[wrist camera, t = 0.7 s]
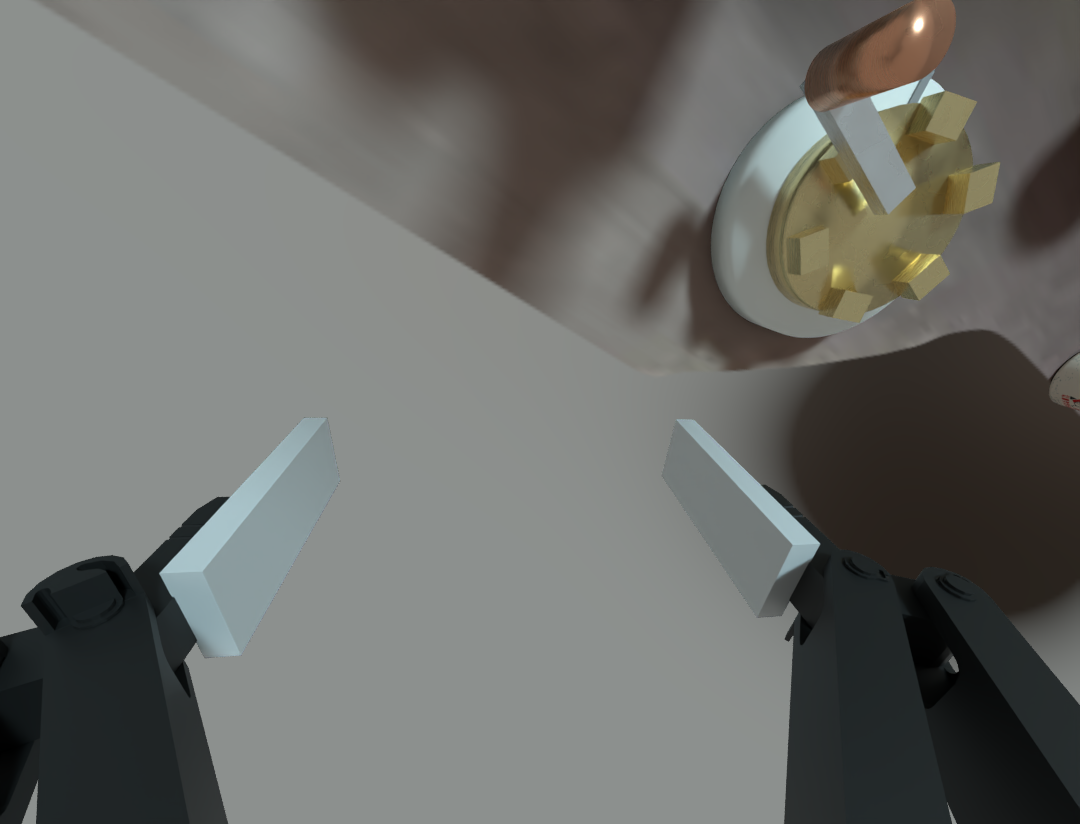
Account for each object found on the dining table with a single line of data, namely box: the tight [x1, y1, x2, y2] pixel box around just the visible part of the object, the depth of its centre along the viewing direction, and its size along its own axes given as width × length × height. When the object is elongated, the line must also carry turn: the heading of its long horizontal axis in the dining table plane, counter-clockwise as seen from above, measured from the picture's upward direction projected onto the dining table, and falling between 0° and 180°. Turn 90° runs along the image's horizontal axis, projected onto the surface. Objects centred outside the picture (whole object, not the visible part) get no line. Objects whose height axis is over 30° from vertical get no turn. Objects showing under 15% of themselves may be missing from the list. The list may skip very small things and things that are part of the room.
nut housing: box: [711, 70, 945, 338], centre depth 37 cm, size 22×22×4 cm
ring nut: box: [766, 0, 1000, 323], centre depth 29 cm, size 23×16×11 cm
